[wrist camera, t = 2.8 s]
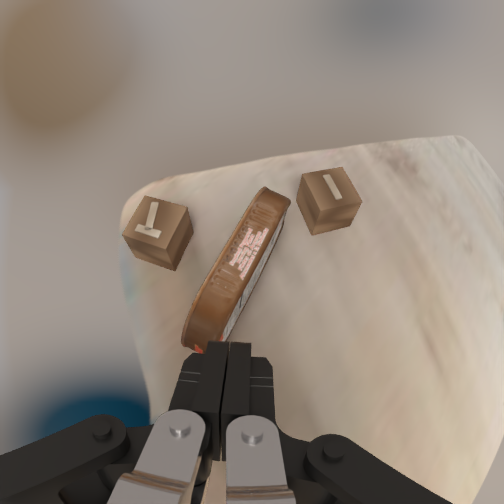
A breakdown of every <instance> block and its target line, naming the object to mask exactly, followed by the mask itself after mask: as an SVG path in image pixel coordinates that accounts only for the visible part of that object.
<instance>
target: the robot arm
mask: <svg viewBox="0 0 504 504" xmlns="http://www.w3.org/2000/svg"><path fill="white" fill-rule="evenodd" d="M229 347H230V351H229ZM221 447H222V461H226V504H453V503H451V502H449V501H447V500H445V499H444V498H442V497H440V496H438V495H437V494H435V493H433V492H431V491H430V490H428V489H426V488H425V487H423V486H421V485H419V484H418V483H416V482H414V481H413V480H411V479H410V478H408V477H406V476H405V475H403V474H401V473H400V472H398V471H397V470H395V469H393V468H392V467H390V466H389V465H387V464H386V463H384V462H383V461H381V460H379V459H378V458H376V457H375V456H373V455H372V454H370V453H369V452H367V451H366V450H364V449H363V448H361V447H360V446H359V445H357V444H356V443H354V442H353V441H351V440H350V439H348V438H346V437H344V436H341V435H336V434H326V435H322V436H319V437H317V438H315V439H314V440H312V441H311V442H307V441H303V440H298V439H295V438H292V437H290V436H288V435H286V434H285V433H283V432H282V431H281V430H280V429H279V427H278V426H277V424H276V421H275V406H274V388H273V369H272V366H271V364H270V363H269V361H268V360H267V359H266V358H265V357H251V343H244V342H231V344H230V345H229V342H226V341H212V340H209V341H208V344H207V348H206V352H205V354H201V353H192V354H191V355H190V356H189V357H188V358H187V359H186V360H185V361H184V363H183V366H182V369H181V373H180V375H179V378H178V381H177V385H176V388H175V391H174V394H173V397H172V400H171V403H170V406H169V410H168V412H165V413H164V414H162V415H161V416H159V418H158V419H157V420H156V422H155V424H152V425H149V426H143V427H128V428H126V427H125V425H124V423H123V422H122V421H120V419H118V418H116V417H114V416H111V415H105V414H101V415H95V416H92V417H90V418H88V419H85V420H83V421H81V422H79V423H77V424H74V425H72V426H70V427H68V428H66V429H63V430H61V431H59V432H56V433H54V434H52V435H50V436H47V437H45V438H43V439H40V440H38V441H35V442H33V443H31V444H28V445H26V446H23V447H21V448H18V449H16V450H13V451H11V452H8V453H5V454H3V455H0V504H204V500H205V496H206V492H207V488H208V484H209V475H210V472H211V466H212V460H215V461H220V455H221Z"/></svg>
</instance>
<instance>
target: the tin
mask: <svg viewBox="0 0 504 504" xmlns="http://www.w3.org/2000/svg"><path fill="white" fill-rule="evenodd" d="M290 204H291V201H290V199H288V198H286V197H285V196H282V195H280V194H278V193H276V192H274V191H271V190H269V189H268V188H267V187H263V188H261V189H260V190H259V192H258V193H257V194H256V195H255V197H254V198H253V200H252V201H251V203H250V205H249V206H248V208H247V210H246V211H245V213H244V215H243V216H242V218H241V220H240V221H239V223H238V225H237V226H236V228H235V230H234V231H233V233H232V235H231V237H230V238H229V240H228V242H227V243H226V245H225V247H224V248H223V250H222V252H221V253H220V255H219V257H218V258H217V260H216V262H215V264H214V265H213V267H212V269H211V270H210V272H209V274H208V275H207V277H206V279H205V280H204V282H203V284H202V286H201V288H200V290H199V292H198V294H197V296H196V298H195V300H194V302H193V304H192V306H191V309H190V311H189V314H188V316H187V319H186V322H185V325H184V328H183V332H182V338H181V343H182V345H183V346H184V347H189V348H191V349H193V350H195V351H196V352H198V353H201V354H205V352H206V348H207V344H208V341H209V340H212V341H226V340H227V338H228V336H229V334H230V333H231V331H232V329H233V327H234V325H235V323H236V321H237V319H238V318H239V316H240V314H241V312H242V310H243V308H244V306H245V305H246V303H247V301H248V299H249V297H250V295H251V293H252V291H253V289H254V287H255V285H256V283H257V281H258V279H259V277H260V275H261V273H262V271H263V269H264V267H265V265H266V263H267V261H268V259H269V257H270V255H271V253H272V250H273V248H274V246H275V244H276V242H277V239H278V237H279V235H280V232H281V230H282V227H283V224H284V217H285V214H286V211H287V208H288V207H289V206H290Z"/></svg>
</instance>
